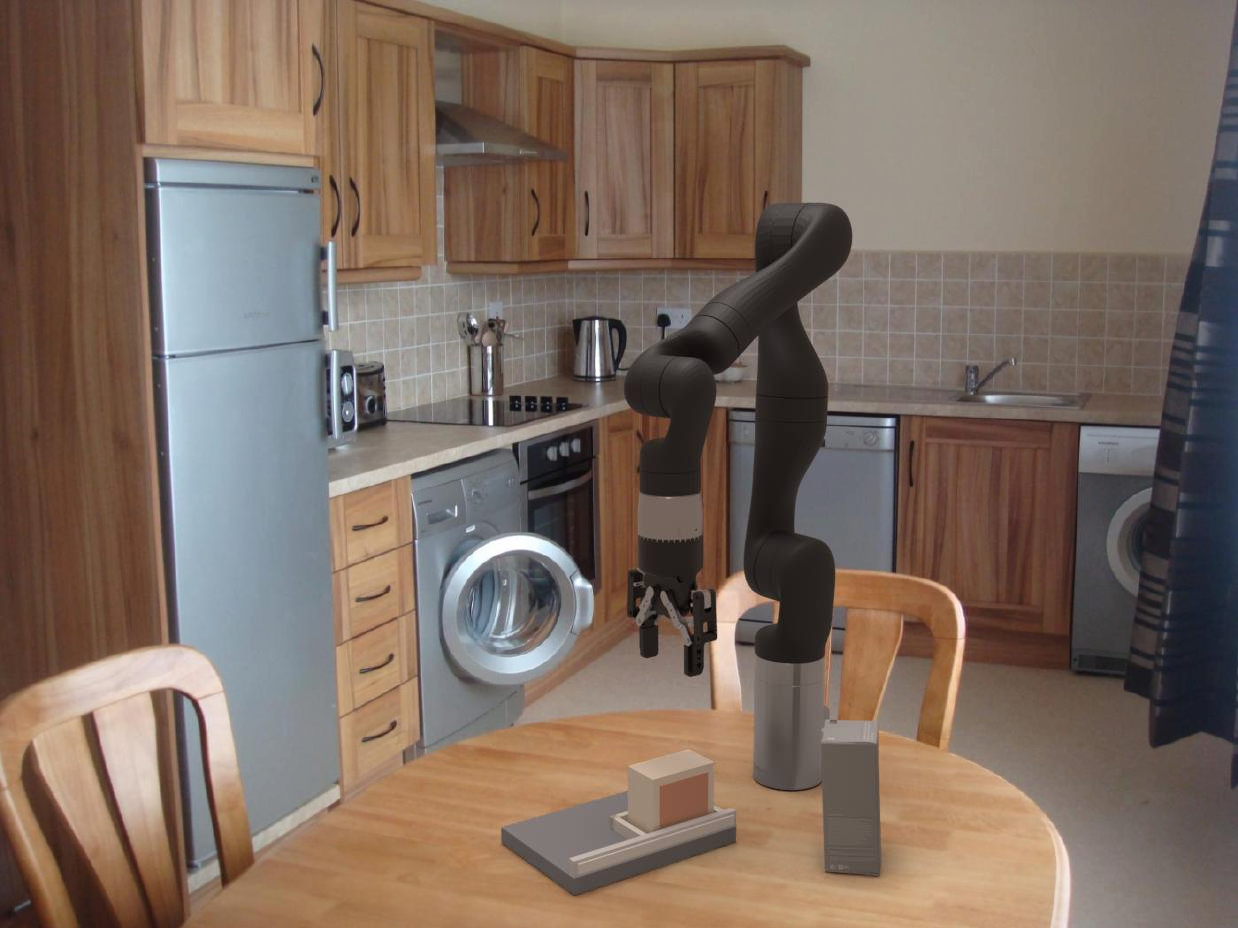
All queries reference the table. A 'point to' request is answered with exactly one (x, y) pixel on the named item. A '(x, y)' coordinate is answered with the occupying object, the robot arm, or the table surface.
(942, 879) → the table surface
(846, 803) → the skincare box
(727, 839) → the shelf deck
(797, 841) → the table surface
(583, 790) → the table surface
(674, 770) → the cream box
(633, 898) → the table surface
